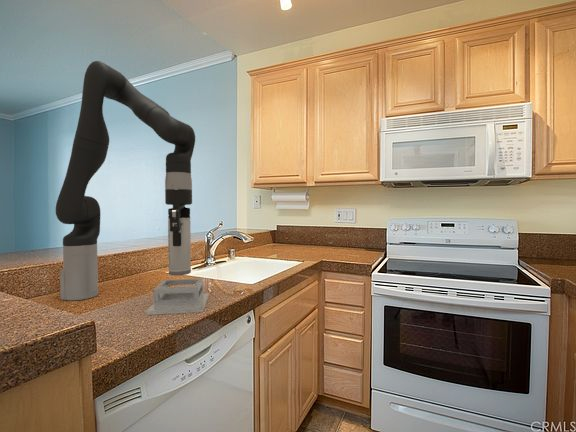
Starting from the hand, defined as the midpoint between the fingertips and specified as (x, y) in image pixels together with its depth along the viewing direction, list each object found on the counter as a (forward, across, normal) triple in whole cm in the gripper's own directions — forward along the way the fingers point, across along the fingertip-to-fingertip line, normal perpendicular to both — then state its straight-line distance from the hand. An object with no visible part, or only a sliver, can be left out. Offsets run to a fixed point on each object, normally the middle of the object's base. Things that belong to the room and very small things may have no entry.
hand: (179, 244), depth 88 cm
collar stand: (+18, 0, 0) cm, 18 cm away
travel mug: (+9, 0, 0) cm, 9 cm away
